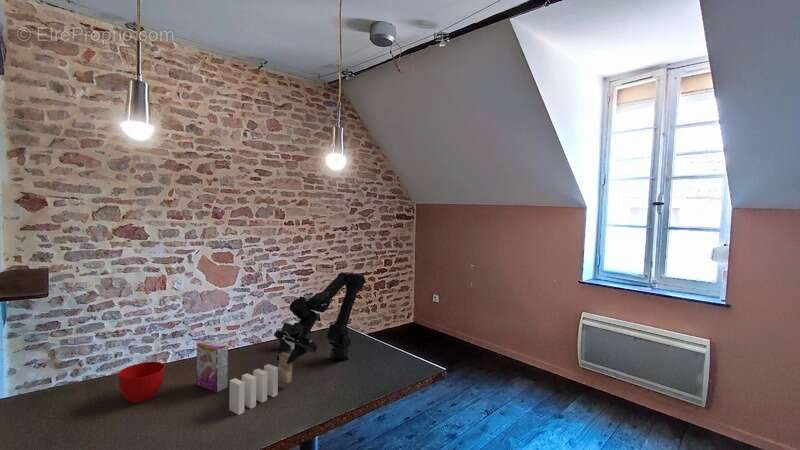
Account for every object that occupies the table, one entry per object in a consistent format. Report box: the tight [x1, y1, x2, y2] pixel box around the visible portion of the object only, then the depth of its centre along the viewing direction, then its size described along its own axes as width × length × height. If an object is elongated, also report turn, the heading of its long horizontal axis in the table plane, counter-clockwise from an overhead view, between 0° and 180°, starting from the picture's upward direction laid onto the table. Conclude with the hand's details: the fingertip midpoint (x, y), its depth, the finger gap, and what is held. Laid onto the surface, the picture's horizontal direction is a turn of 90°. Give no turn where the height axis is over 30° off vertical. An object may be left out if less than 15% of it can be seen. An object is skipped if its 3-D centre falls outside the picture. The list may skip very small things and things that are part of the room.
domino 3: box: [252, 368, 268, 403], centre depth 128 cm, size 2×5×10 cm, turn 59°
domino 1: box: [228, 377, 245, 416], centre depth 120 cm, size 2×5×10 cm, turn 59°
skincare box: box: [285, 319, 299, 350], centre depth 175 cm, size 6×4×12 cm
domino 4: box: [263, 363, 279, 398], centre depth 132 cm, size 2×5×10 cm, turn 59°
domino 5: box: [278, 352, 293, 384], centre depth 137 cm, size 2×5×10 cm, turn 59°
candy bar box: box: [196, 338, 229, 394], centre depth 135 cm, size 11×5×16 cm, turn 65°
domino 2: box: [241, 372, 257, 409], centre depth 124 cm, size 2×5×10 cm, turn 59°
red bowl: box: [118, 361, 166, 404], centre depth 128 cm, size 13×17×10 cm
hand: (282, 361), depth 136 cm, fingers closed on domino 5, 5 cm apart
